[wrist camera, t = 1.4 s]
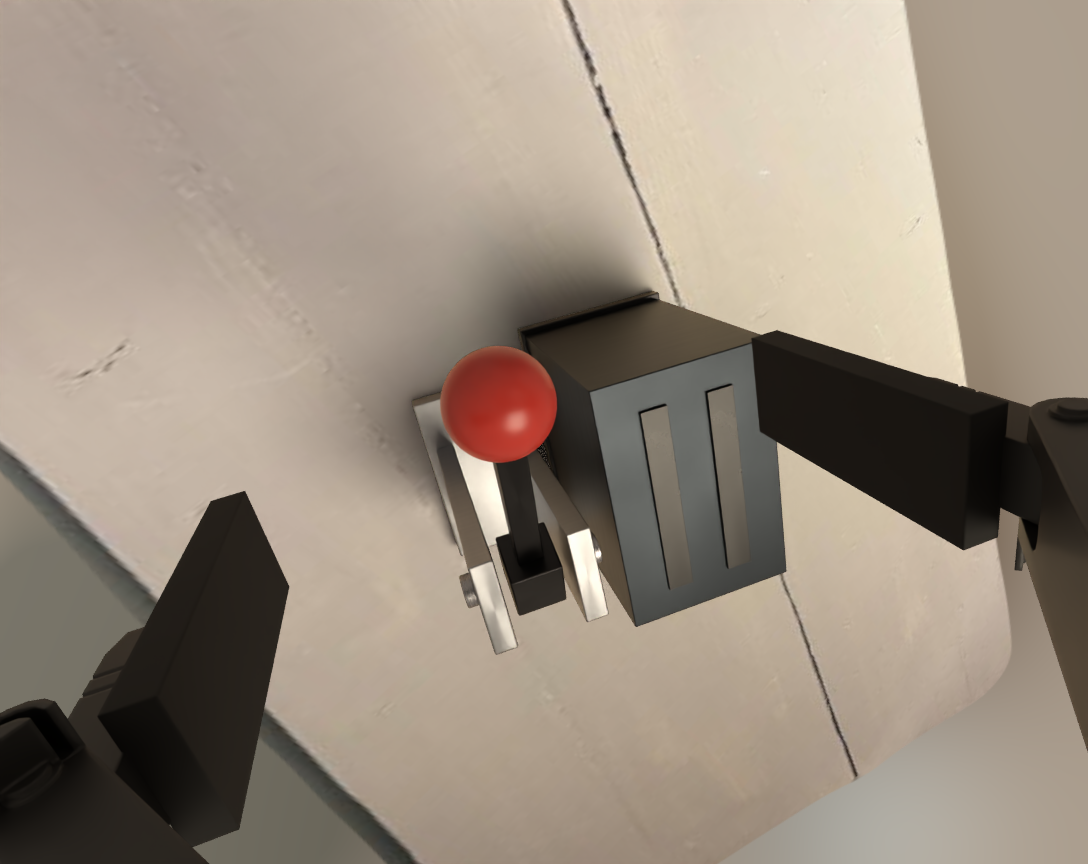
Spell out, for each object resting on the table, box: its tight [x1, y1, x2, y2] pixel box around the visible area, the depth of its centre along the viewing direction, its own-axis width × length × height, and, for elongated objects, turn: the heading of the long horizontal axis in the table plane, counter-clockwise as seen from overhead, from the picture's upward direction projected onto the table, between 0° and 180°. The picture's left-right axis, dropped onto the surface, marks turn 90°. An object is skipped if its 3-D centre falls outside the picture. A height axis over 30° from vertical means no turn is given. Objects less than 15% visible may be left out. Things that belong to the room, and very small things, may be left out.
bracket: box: [412, 392, 609, 655], centre depth 31 cm, size 10×6×14 cm, turn 12°
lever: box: [440, 346, 566, 616], centre depth 23 cm, size 13×4×4 cm, turn 12°
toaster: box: [517, 291, 786, 627], centre depth 33 cm, size 13×8×12 cm
